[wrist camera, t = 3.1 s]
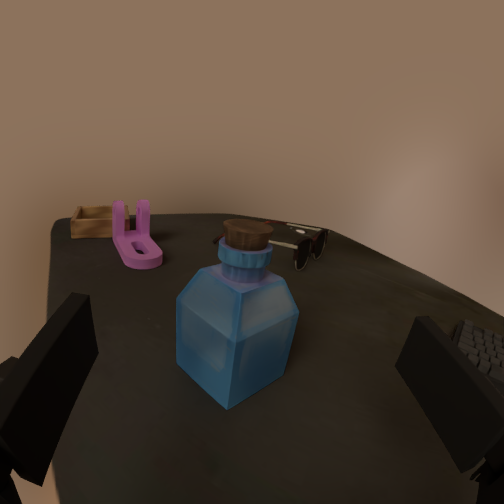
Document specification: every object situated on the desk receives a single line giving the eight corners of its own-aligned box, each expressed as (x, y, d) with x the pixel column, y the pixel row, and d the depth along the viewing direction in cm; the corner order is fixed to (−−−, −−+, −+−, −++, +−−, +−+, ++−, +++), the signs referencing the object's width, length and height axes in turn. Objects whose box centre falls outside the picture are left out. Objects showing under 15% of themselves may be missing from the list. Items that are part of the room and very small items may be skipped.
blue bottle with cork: (176, 363, 23) (179, 217, 19) (232, 339, 27) (248, 210, 23) (227, 410, 19) (247, 248, 15) (283, 374, 23) (315, 234, 19)
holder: (71, 238, 45) (70, 220, 44) (78, 221, 54) (77, 206, 53) (129, 237, 49) (129, 219, 48) (127, 220, 58) (127, 205, 57)
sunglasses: (293, 276, 43) (297, 242, 41) (206, 250, 51) (207, 221, 49) (325, 254, 54) (329, 227, 52) (251, 236, 62) (253, 211, 60)
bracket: (112, 239, 47) (112, 198, 45) (143, 237, 50) (144, 197, 48) (128, 271, 37) (127, 219, 35) (167, 266, 40) (169, 216, 38)
